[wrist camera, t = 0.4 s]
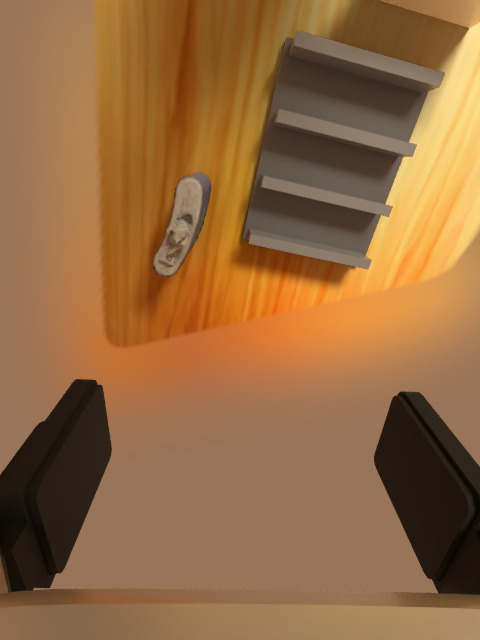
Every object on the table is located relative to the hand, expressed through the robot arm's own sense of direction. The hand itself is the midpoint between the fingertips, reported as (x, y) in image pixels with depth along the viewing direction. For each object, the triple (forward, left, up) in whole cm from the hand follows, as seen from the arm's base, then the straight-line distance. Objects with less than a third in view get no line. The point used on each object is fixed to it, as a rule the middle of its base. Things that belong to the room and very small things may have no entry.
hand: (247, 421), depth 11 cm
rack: (-9, +8, -30) cm, 32 cm away
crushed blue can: (-1, -5, -30) cm, 31 cm away
